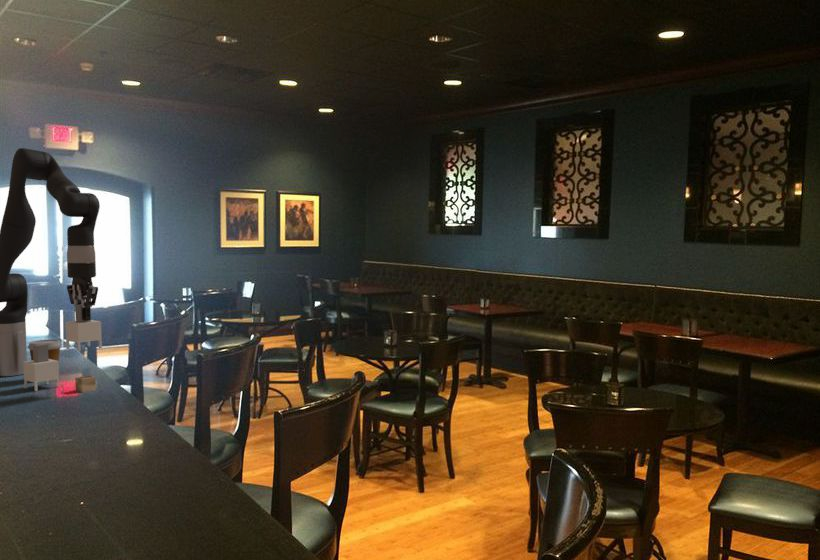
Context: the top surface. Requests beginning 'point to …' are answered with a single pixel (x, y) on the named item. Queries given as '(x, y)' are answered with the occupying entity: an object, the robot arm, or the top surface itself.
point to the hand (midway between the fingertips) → (83, 319)
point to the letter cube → (85, 383)
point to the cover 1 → (41, 367)
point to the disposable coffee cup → (52, 348)
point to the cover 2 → (83, 330)
